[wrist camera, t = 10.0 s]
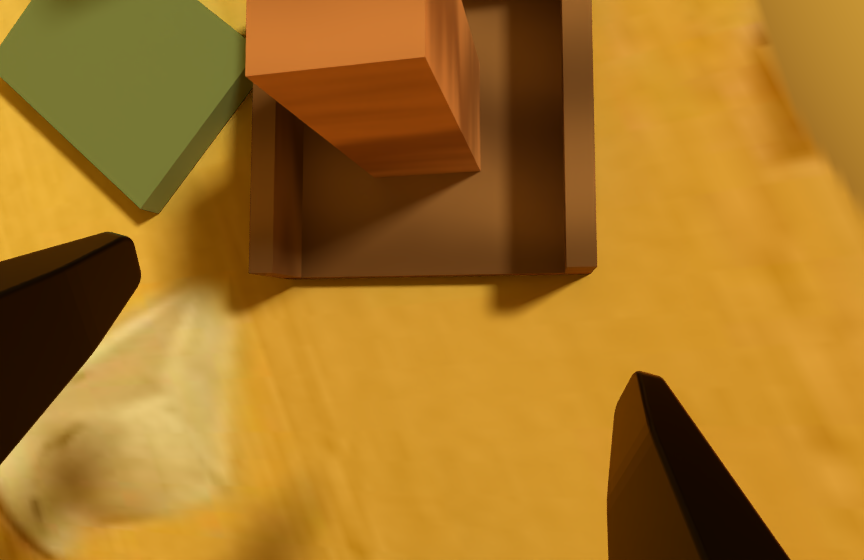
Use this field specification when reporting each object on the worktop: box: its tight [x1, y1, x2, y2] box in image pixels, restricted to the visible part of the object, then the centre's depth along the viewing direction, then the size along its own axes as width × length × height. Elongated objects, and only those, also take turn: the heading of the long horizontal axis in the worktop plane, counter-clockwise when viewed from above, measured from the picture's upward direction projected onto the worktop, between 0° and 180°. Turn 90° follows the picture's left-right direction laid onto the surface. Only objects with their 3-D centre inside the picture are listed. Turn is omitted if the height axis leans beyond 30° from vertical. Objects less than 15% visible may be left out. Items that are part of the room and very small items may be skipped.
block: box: [245, 0, 481, 178], centre depth 18 cm, size 4×4×10 cm
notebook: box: [0, 0, 253, 214], centre depth 26 cm, size 12×9×1 cm
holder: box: [249, 0, 597, 279], centre depth 22 cm, size 13×13×3 cm
